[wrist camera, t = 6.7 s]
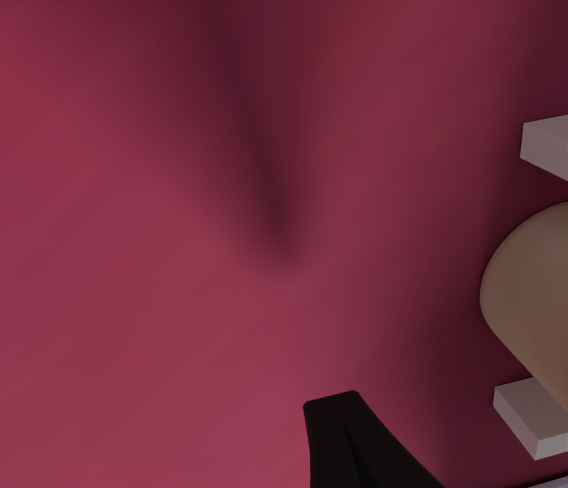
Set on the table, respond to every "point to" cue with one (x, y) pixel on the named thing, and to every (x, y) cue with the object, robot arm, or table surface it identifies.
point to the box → (529, 392)
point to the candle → (533, 297)
